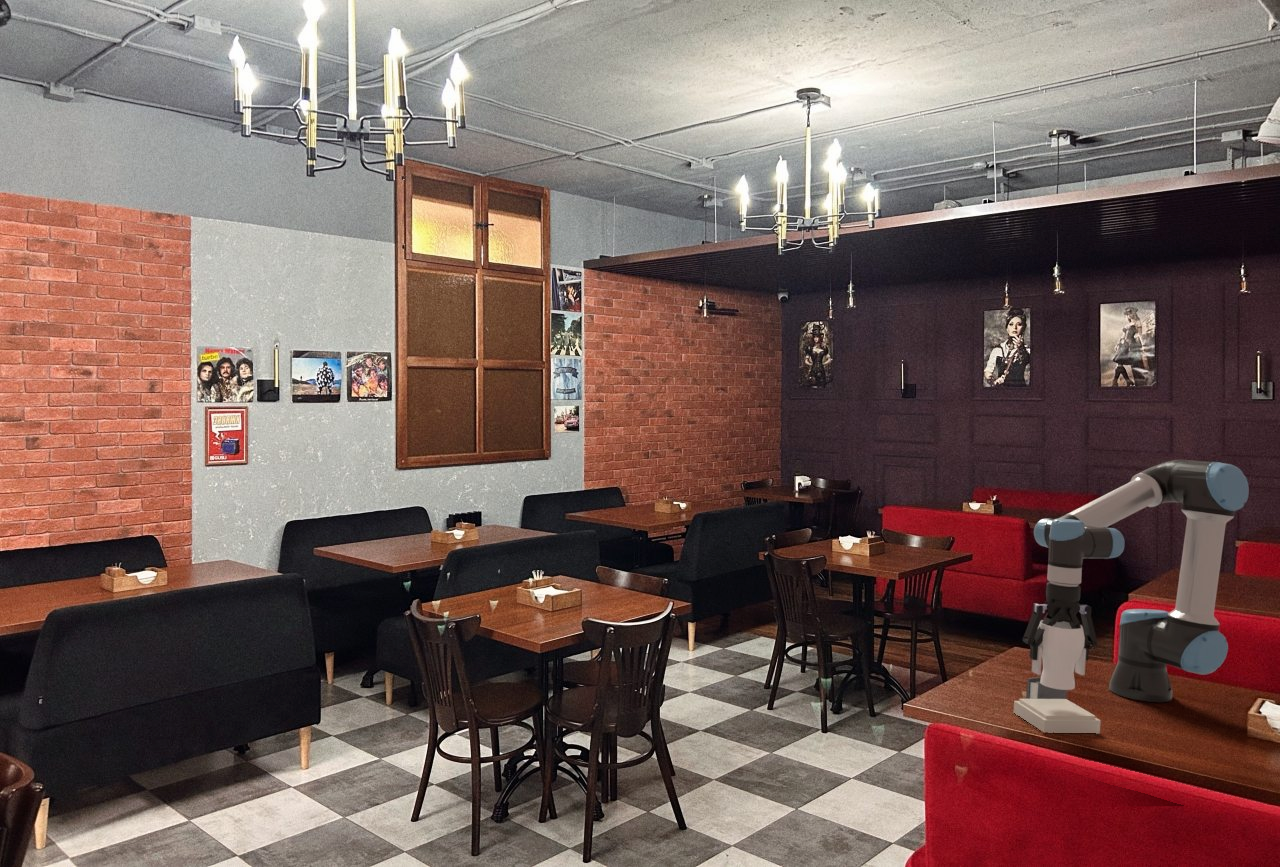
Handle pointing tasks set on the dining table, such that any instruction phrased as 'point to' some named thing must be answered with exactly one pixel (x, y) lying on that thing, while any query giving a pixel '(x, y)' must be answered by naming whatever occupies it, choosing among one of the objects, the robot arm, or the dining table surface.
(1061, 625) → the cup
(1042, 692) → the napkin holder
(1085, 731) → the pedestal
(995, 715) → the dining table surface
